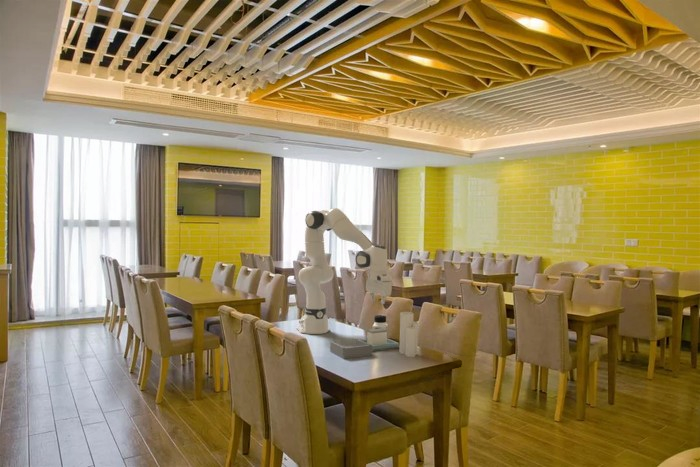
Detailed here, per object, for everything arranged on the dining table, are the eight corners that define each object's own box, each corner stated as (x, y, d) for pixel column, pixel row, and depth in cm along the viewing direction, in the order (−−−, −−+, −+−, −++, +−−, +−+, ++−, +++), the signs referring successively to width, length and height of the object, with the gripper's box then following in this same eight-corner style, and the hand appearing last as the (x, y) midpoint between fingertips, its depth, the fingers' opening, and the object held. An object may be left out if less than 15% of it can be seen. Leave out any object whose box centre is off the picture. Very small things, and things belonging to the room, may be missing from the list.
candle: (396, 351, 247) (397, 312, 247) (408, 350, 250) (409, 311, 250) (409, 357, 237) (410, 316, 237) (421, 356, 240) (422, 315, 240)
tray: (355, 345, 259) (355, 340, 259) (384, 341, 268) (384, 337, 268) (368, 351, 247) (369, 346, 247) (398, 347, 255) (399, 343, 255)
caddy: (367, 344, 257) (367, 329, 257) (381, 343, 262) (382, 328, 261) (371, 347, 253) (372, 331, 253) (386, 345, 257) (387, 330, 257)
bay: (330, 351, 246) (330, 341, 245) (357, 348, 253) (357, 338, 253) (343, 359, 233) (343, 348, 232) (371, 355, 240) (371, 345, 240)
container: (385, 340, 271) (386, 317, 271) (372, 339, 273) (372, 316, 272) (387, 337, 279) (388, 314, 278) (374, 336, 280) (374, 313, 280)
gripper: (363, 274, 264) (362, 299, 264) (383, 278, 246) (382, 306, 246) (373, 273, 267) (372, 299, 267) (394, 278, 249) (393, 305, 249)
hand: (377, 302), depth 257 cm, fingers open, 8 cm apart
